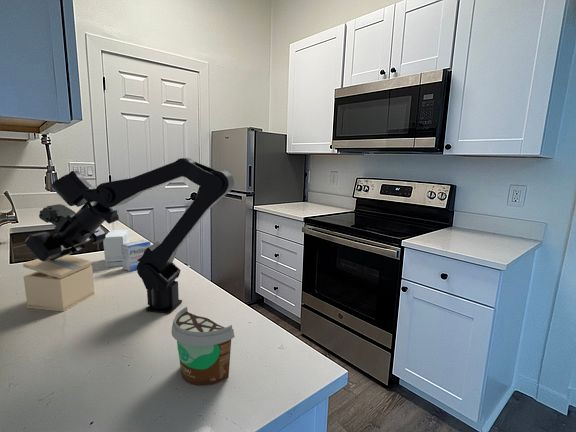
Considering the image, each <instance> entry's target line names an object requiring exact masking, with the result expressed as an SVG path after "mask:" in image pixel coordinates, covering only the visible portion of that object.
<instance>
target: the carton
mask: <svg viewBox="0 0 576 432" xmlns="http://www.w3.org/2000/svg"><path fill="white" fill-rule="evenodd" d="M93 273H94V272H93V265H91V266H88V267H86V268H84V269H81V270H79V271H77V272H74V273H72V274H70V275H67V276H65V277H63V278H57V277H54V276H50V275H47V274H44V273H41V272H38V271H35V272H32V273H29V274H27V275H24V276H23V282H24V290H25V298H26V306H27V308H28V309H34V310H35V309H36V310H47V311H54V312H55V311H56V312H65V311H67V310H69V309H71V308H73V307H74V306H76V305H78V304H79V303H81V302H83V301H85V300H87V299H89V298H91V297H93V296H94V295H95V284H94V274H93Z"/></svg>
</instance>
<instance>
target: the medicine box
mask: <svg viewBox="0 0 576 432" xmlns="http://www.w3.org/2000/svg"><path fill="white" fill-rule="evenodd" d="M151 245H152V244H151V241H150V240H145V239H142V240H136V241H132V242H131V241H130V243H125V244H121V248H122V260H123V266H122V269H123V270H125V271H128V272H133V271H137V269H136V268H137V265H138V263H139V261H137V260H138V259H139V258H141V257H142V256H143V254H144V252H145V250H146V249H147V248H148V247H149V246H151Z"/></svg>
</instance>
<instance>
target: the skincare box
mask: <svg viewBox="0 0 576 432" xmlns="http://www.w3.org/2000/svg"><path fill="white" fill-rule="evenodd" d="M105 235H106V238H105V239H104V240H103V241H102V243H103V251H104V252H103V253H104V262H105V268H108V267H109V268H111V267H123V260H122V248H121V244H125V243H131V240H130V230H129V229H117V230H116V229H115V230H109V231H108V233H105Z"/></svg>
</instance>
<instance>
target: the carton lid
mask: <svg viewBox="0 0 576 432" xmlns="http://www.w3.org/2000/svg"><path fill="white" fill-rule="evenodd" d="M22 266H23V267H22V268H26V269H28V270H32V271H35V272H37V271H38V272H41V273H44V274H47V275H50V276H54V277H57V278H63V277H65V276H67V275H70V274H72V273H74V272H77V271H79V270H81V269H84V268H86V267H88V266H93V261H90V260H88V259H84V258H82V257H78V256H75V255H71V254H68V255H65V256H63V257H60V258H58V259H55V260H52V261H51V260H47V261H41V260H39V259H38V258H36V259H33V260H30V261H27V262H23V264H22Z"/></svg>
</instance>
